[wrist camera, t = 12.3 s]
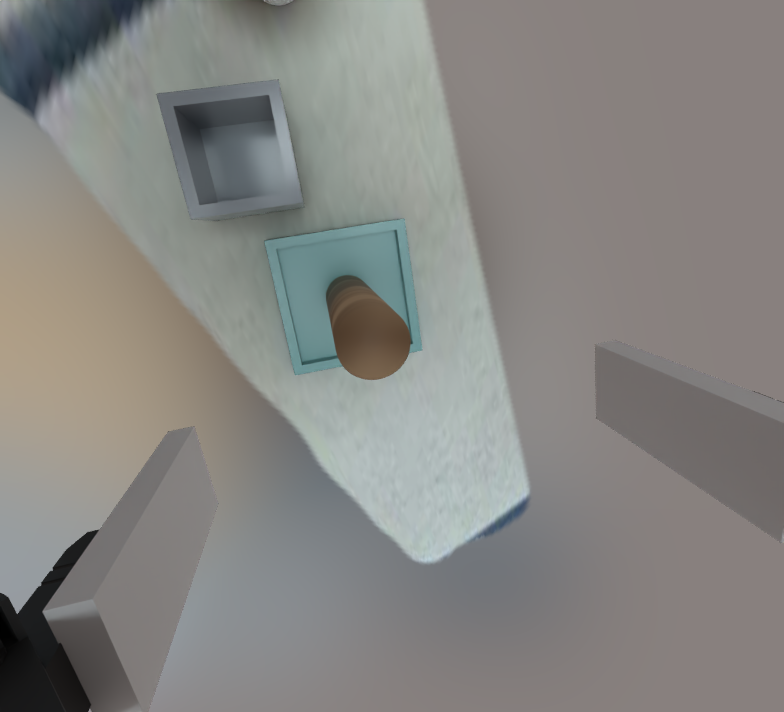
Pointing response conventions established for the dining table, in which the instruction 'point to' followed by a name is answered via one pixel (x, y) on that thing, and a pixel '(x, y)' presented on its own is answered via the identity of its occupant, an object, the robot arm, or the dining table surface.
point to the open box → (232, 150)
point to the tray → (323, 265)
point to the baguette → (365, 329)
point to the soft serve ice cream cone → (278, 2)
